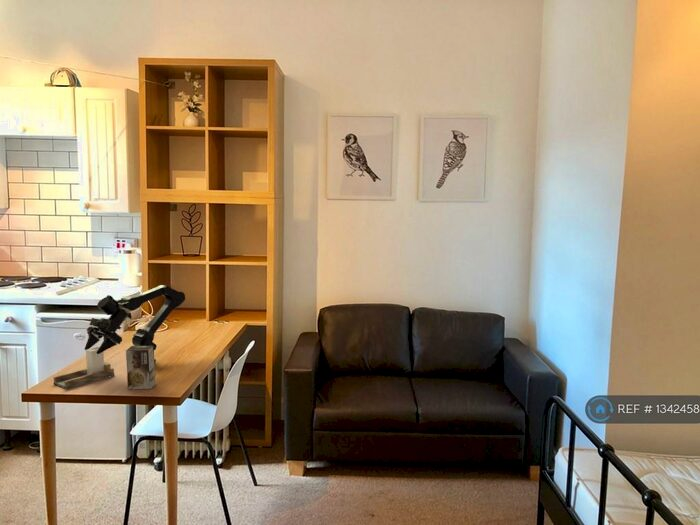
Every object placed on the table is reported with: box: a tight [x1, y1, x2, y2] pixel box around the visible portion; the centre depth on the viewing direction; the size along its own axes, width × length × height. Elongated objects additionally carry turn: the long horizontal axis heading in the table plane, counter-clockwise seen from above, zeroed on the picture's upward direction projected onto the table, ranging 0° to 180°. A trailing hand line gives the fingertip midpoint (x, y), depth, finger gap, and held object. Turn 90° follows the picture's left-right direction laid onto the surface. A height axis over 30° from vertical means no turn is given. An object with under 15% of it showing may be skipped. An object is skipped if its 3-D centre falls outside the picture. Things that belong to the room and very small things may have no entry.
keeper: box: [85, 346, 105, 375], centre depth 215 cm, size 5×4×11 cm
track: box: [53, 361, 115, 390], centre depth 212 cm, size 20×10×5 cm, turn 146°
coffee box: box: [125, 345, 156, 390], centre depth 204 cm, size 9×6×16 cm
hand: (91, 351), depth 214 cm, fingers open, 9 cm apart
